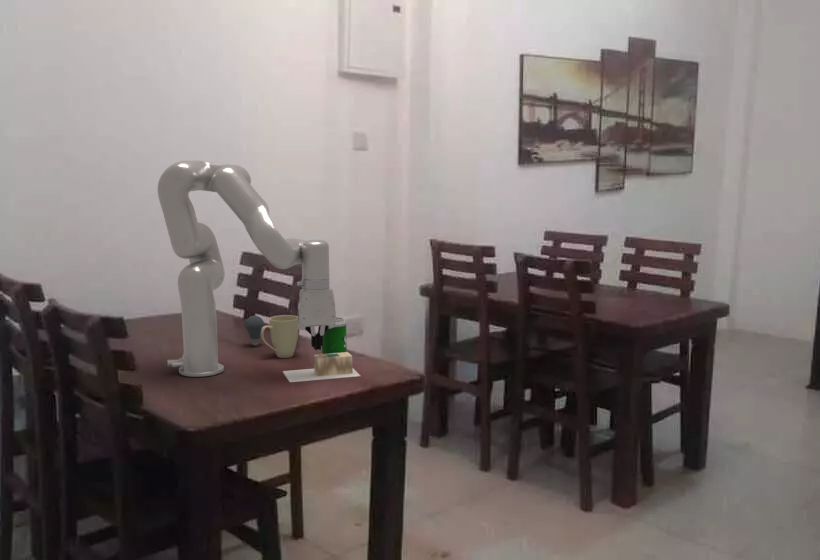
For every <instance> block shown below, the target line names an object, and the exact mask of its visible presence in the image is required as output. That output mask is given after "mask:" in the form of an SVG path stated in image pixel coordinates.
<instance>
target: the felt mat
mask: <svg viewBox="0 0 820 560" xmlns="http://www.w3.org/2000/svg"><path fill="white" fill-rule="evenodd" d="M282 373H283V375H284V376H285V377H286V379H287V380H288V382H289V383H299V382H308V381H309V382H310V381H319V380H320V381H321V380H332V379H343V378H354V377H355V378H357V377H361V374H360V373H358V372H357V370H355V368H353V367H352V373H350V374H338V375H326V376H317V375H316V373H315V372H314V368H306V369H304V368H303V369H293V370H283V371H282Z"/></svg>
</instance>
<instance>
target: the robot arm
mask: <svg viewBox="0 0 820 560" xmlns="http://www.w3.org/2000/svg"><path fill="white" fill-rule="evenodd" d="M251 182H252V179H251V176H250V173H249V172H248V170H247V169H245V168H244V167H243V166H241V165H237V164H229V163H227V164H225V163H219V162H212V161H204V160H181V161H177V162H175V163H173V164H171V165H169V166H168V167H167V168H166V169H165V170H164V171H163V172H162V174H161V175H160V177H159V179H158V183H157V196H158V201H159V204H160V208H161V211H162V215H163V217H164V222H165V226H166V228H167V229H166V230H167V233H168V237H169V241H170V245H171V249H172V250H173V252H174V254H175V255H176V256H177V257H178V258H181V259H183V260H186V259H187V260H188V261H189V264H188V265H186V266H184V268H182V270H181V271H180V272H179V275H178V278H177V288H178V294H179V301H180V308H181V323H182V341H183V342H182V345H183V346H182V347H183V354H182V355H181V357H179V358H177V359H167V361H166V362H167V367H168V368H169V367H172V368H178V373H179V375H181V376H184V377H192V378H193V377H194V378H198V377H199V378H202V377H211V376H215V375H218V374H221V373H222V372H224V370H225V367H224V365H223V364H221V363H219V349H218V324H217V321H218V319H217V308H216V307H217V306H216V301H215V296H214V295H215V294H214V291H215V290H217V289H218V288H220V286H221V285H222V284H223V282H225V276H226V275H225V273H226V272H225V267H224V263H223V260H222V256H221V252H220V248H219V245H218V242H217V239H216V235H215V234H214V232H213V230H212V229H211V227H209V226H208V225H206V224H204V223H203V222H199V221H198V219H197V216H196V211H195V207H194V204H193V203H192V201H191V199H190V196H189V193H191V192H197V191H203V192H211V193H217V195H218V196H219V197H220V198H221V199H222V201H224V203H225V204H226V205H227V206H228V207H229V209H230V210H231V211H232V213H234V214H235V215H236V217H237V218H238V219H239V220H240V221H241V223H242V224H243V226H244V228H245V231H246V232H247V234H248V235H249V238H250V239H251V241H252V243H253V244H254V246H255V247H256V248H257V249H258V251H259V252H260V253H261V254H262V256H263V257H264V258H265V259H266V260H267V261H268V262H269V263H270V264H271V265H272V266H274V267H275V269H276V268H277V269H279V270H287V269H289V268H292V267H293V266H296V265H301V275H302V276H301V277H302V278H301V280H299V281H297V282H296V285H297V287H301V289H300V290H299V295H298V305H297V306H298V307H297V317H298V321H299V322H298V330H299V331H300V330H301V331H306V332H308V334H309V335H310V342H311V343H310V344H311V348H313V349H314V350H315V351H318V350H321V351H322V346H323V335H324V333H325V332H326V331H327V330H328V329H330V328H333V327H335V326H336V324H335V322H336V317H337V312H336V303H335V296H334V291H333V288H330V248H329V247H330V245H329V243H328V241H326V240H321V239H310V240H309V239H308V240H304V239H296V238H286V239H285V238H284V237H283V235H282V234H281V233H280V232H279V230H277V228H276V226H275V225H274V223H273V221H272V219H271V216H270V209H269V206H268V205H269V204H267V202H266V201H265V200H264V199H263V198H262V196H261V195H260V194H259V193H258V191H256V189H255V188H254V187H253V186H252V185H251ZM316 327H318V329H317V333H316Z"/></svg>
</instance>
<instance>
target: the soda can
mask: <svg viewBox="0 0 820 560" xmlns="http://www.w3.org/2000/svg"><path fill="white" fill-rule="evenodd" d="M335 324H336V326H335V327H333V328H330V329H328V330H327V331H326V332H325V333H324V335H323V346H321V354H330V353H342V352H348V351H347V346H348V345H347V343H348V342H347V322H346V320H345V319H344V318H343V317H339V316H336V322H335Z"/></svg>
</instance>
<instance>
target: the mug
mask: <svg viewBox="0 0 820 560" xmlns="http://www.w3.org/2000/svg"><path fill="white" fill-rule="evenodd" d="M298 322H299V321H298V315H291V314H282V315H280V314H279V315H273V316H270V317H269V322H268V323H269V325H264V326H263V327H262V329H261V334H260V339H261V340H262V342H263V343H264V344H265V345H266V346H268V347H269V348H270V349H272V350H274V352H275V354H276V357H277V358H280V359H288V358H292V357H293V356H294V353H295V351H296V347H297V344H298V343H297V342H298V340H299V339H298V337H299V329H298ZM266 329H270V330H269V331H270V332H269V333H270V338H271V342H272V345H271V344H270V343H268V341H266V339H265V330H266Z"/></svg>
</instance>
